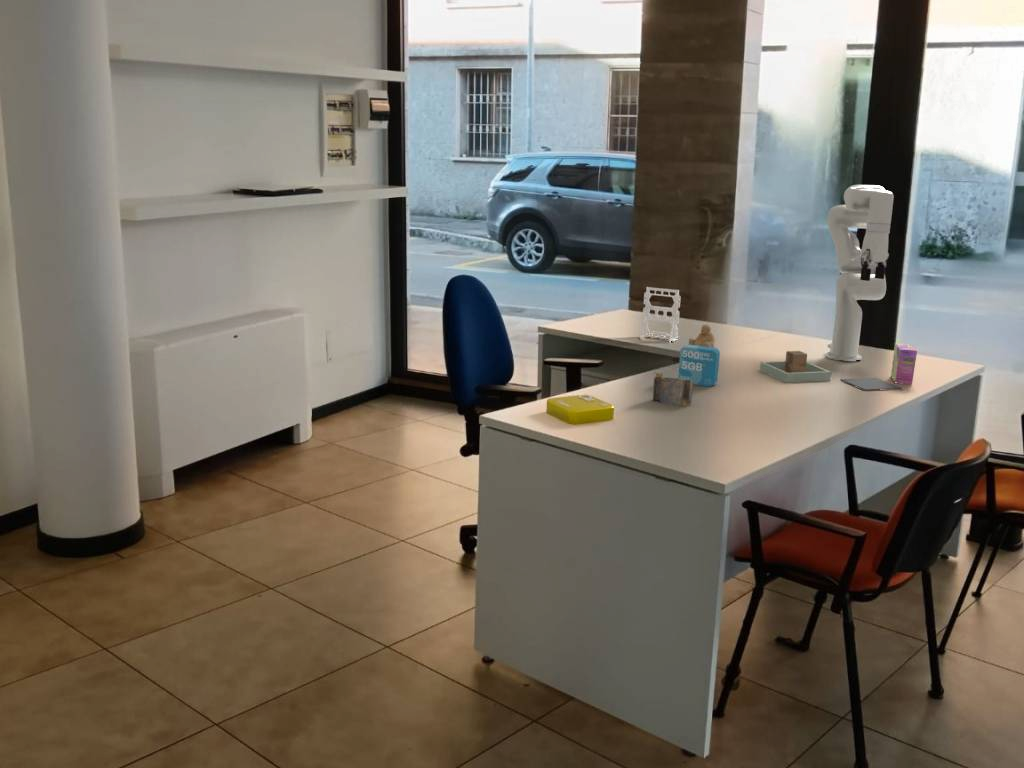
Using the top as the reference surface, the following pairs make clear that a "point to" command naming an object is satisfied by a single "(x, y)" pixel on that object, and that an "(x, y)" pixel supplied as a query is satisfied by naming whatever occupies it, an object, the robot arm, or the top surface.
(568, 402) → the element tile
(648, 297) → the film strip holder
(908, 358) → the box
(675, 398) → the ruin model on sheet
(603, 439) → the top surface
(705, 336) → the statue
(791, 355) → the block
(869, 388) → the mat
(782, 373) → the green square frame
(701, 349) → the data package
